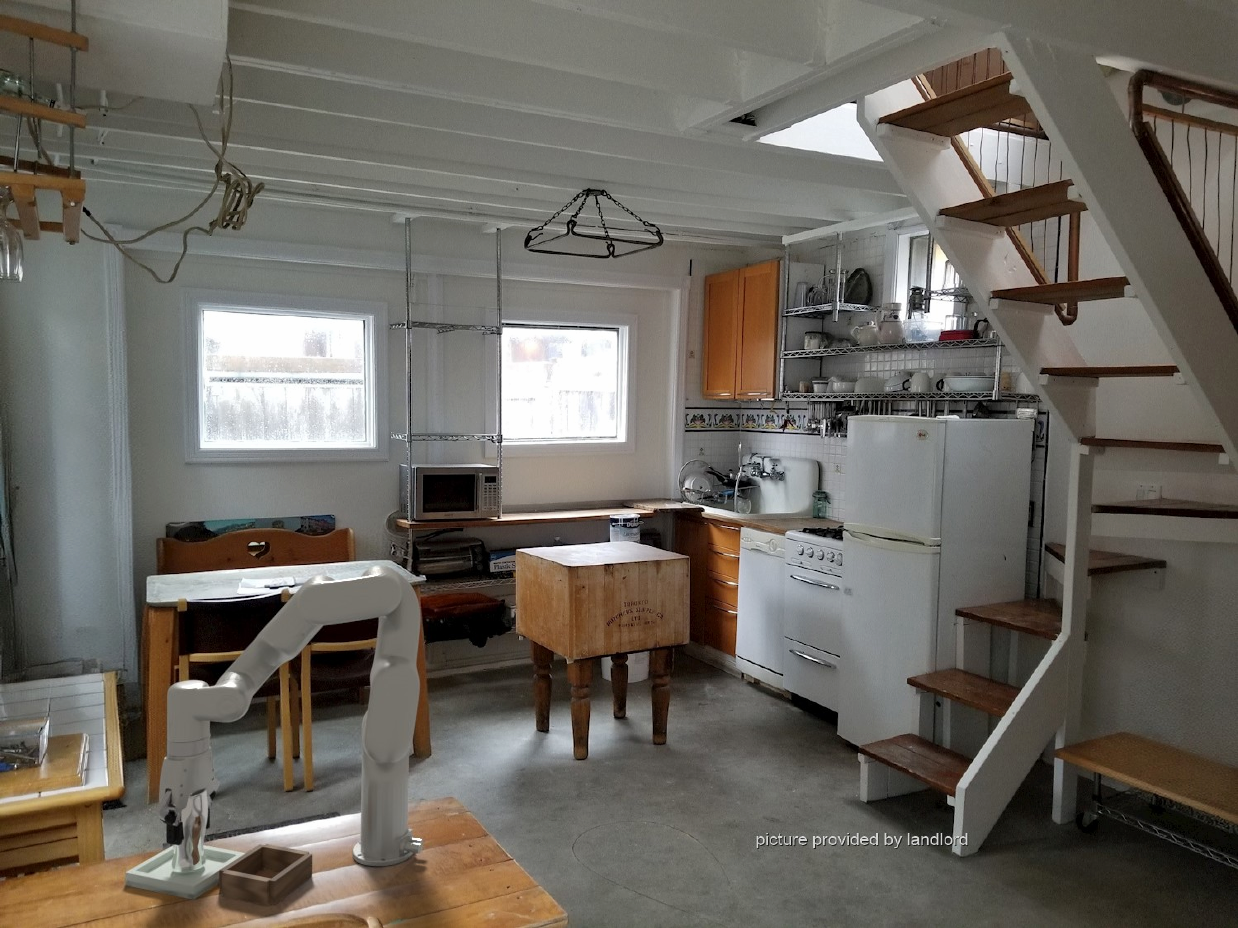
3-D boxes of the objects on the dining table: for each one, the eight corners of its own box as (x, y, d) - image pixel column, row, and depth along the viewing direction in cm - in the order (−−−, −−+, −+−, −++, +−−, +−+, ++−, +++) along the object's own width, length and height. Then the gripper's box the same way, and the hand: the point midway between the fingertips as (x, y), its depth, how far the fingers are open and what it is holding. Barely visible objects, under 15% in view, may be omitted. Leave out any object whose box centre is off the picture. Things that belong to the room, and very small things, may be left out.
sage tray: (245, 865, 178) (245, 852, 178) (193, 899, 165) (193, 886, 165) (181, 852, 183) (181, 840, 183) (125, 884, 169) (125, 872, 169)
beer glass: (192, 876, 170) (192, 799, 169) (160, 872, 171) (160, 795, 170) (215, 859, 176) (215, 785, 176) (185, 855, 178) (184, 781, 177)
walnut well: (313, 875, 175) (314, 852, 175) (272, 906, 163) (272, 882, 163) (261, 864, 178) (261, 842, 178) (216, 894, 167) (217, 871, 166)
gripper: (205, 729, 182) (205, 814, 183) (137, 758, 166) (137, 852, 166) (235, 733, 180) (235, 820, 181) (169, 763, 164) (169, 858, 164)
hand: (188, 834), depth 174 cm, fingers closed on beer glass, 6 cm apart
